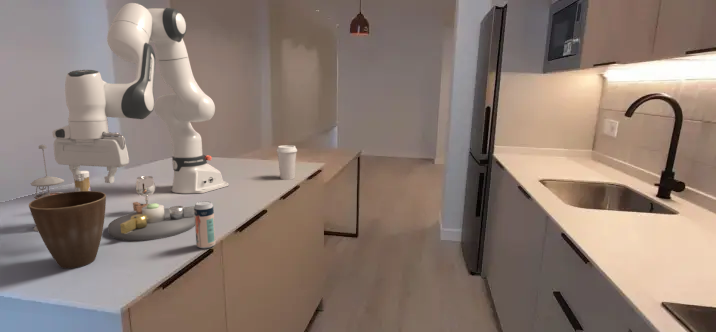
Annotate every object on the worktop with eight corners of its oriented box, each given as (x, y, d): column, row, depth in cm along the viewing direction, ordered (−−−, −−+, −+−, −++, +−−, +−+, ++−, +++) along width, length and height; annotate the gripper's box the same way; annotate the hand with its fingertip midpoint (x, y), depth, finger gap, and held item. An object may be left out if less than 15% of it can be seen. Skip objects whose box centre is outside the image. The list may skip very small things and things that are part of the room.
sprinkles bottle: (93, 210, 140) (88, 172, 137) (77, 212, 137) (72, 173, 135) (93, 207, 143) (88, 169, 141) (77, 209, 141) (72, 171, 138)
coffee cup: (302, 177, 193) (301, 146, 190) (288, 181, 185) (287, 148, 182) (286, 175, 198) (286, 144, 195) (272, 178, 190) (271, 146, 187)
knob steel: (169, 219, 124) (168, 209, 124) (170, 215, 128) (169, 205, 127) (199, 216, 127) (198, 206, 127) (199, 213, 131) (198, 203, 130)
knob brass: (138, 223, 121) (137, 213, 120) (150, 224, 120) (149, 213, 119) (116, 233, 112) (115, 222, 112) (129, 234, 112) (128, 223, 111)
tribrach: (173, 209, 142) (172, 190, 141) (211, 225, 127) (210, 204, 125) (95, 227, 124) (93, 205, 122) (129, 247, 109) (126, 223, 107)
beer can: (199, 242, 113) (196, 200, 110) (217, 242, 113) (215, 200, 111) (194, 249, 108) (191, 206, 106) (212, 249, 108) (210, 205, 106)
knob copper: (153, 214, 129) (152, 204, 128) (140, 217, 126) (139, 207, 125) (142, 209, 134) (141, 199, 134) (129, 211, 131) (128, 202, 131)
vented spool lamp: (41, 233, 118) (29, 148, 113) (24, 226, 124) (12, 144, 119) (79, 224, 126) (69, 144, 121) (61, 217, 132) (51, 140, 127)
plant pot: (92, 275, 93) (83, 207, 90) (22, 277, 92) (11, 208, 89) (123, 249, 107) (117, 190, 104) (64, 250, 106) (56, 191, 103)
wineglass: (138, 215, 135) (134, 180, 133) (138, 210, 140) (135, 176, 138) (157, 213, 138) (154, 178, 135) (157, 208, 143) (154, 175, 140)
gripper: (132, 131, 111) (136, 181, 114) (67, 129, 115) (72, 177, 117) (114, 133, 105) (119, 186, 108) (46, 131, 109) (52, 182, 111)
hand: (94, 181), depth 113 cm, fingers open, 8 cm apart
